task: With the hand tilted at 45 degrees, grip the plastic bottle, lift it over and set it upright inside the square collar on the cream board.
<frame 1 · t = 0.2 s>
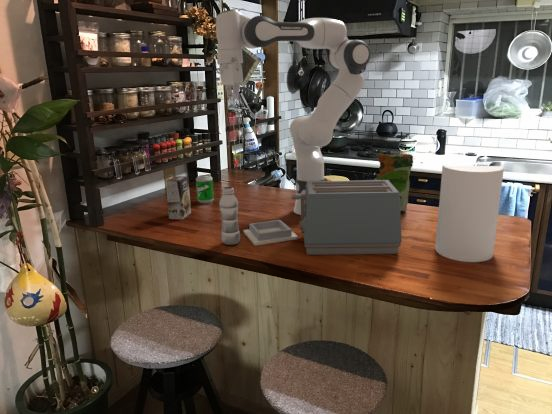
hand: (232, 98, 168), 48 cm above the countertop, tool pointing down, fingers open, 8 cm apart
cylinder: (463, 251, 147), on the countertop
plastic bottle: (231, 244, 158), on the countertop
coffee box: (180, 216, 190), on the countertop
pouch: (392, 212, 187), on the countertop
toaster: (343, 245, 155), on the countertop
bottle holder: (270, 235, 165), on the countertop
soda can: (205, 202, 210), on the countertop
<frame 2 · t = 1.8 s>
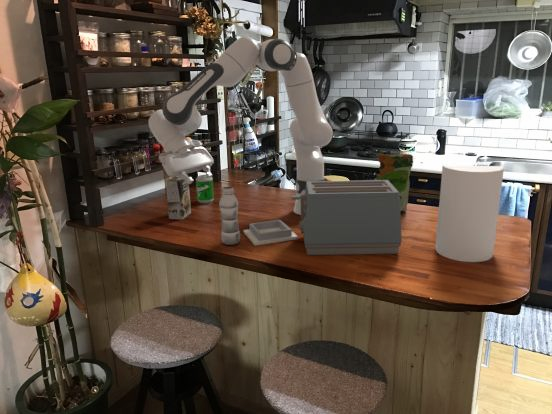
hand: (201, 180, 159), 21 cm above the countertop, tool tilted 45°, fingers open, 8 cm apart
nothing on the countertop moved.
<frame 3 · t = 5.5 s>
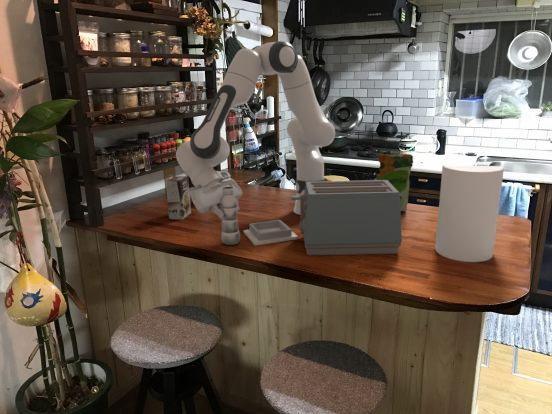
hand: (230, 214, 155), 11 cm above the countertop, tool tilted 45°, fingers closed on plastic bottle, 6 cm apart
plastic bottle: (231, 244, 158), on the countertop, touching gripper
everything else where it was.
when the fingers open (13 cm above the countertop, at t = 11.6 s): plastic bottle stays where it is, resting on bottle holder.
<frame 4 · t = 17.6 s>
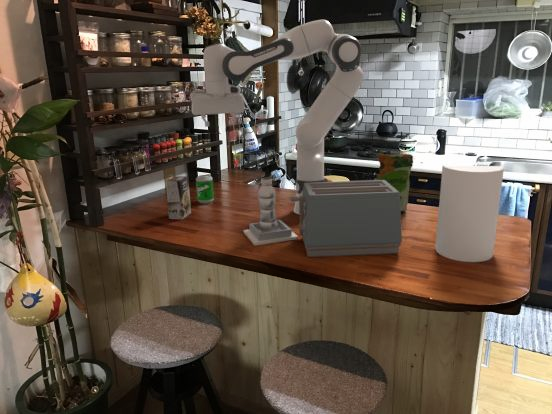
hand: (219, 125, 177), 37 cm above the countertop, tool pointing down, fingers open, 8 cm apart
plastic bottle: (268, 233, 165), point 1 cm above the countertop, touching bottle holder
at the end: plastic bottle 0.6 cm off-centre on the bottle holder, point 0.9 cm above the bottle holder's base; plastic bottle tilted 1°; the gripper is holding nothing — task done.
